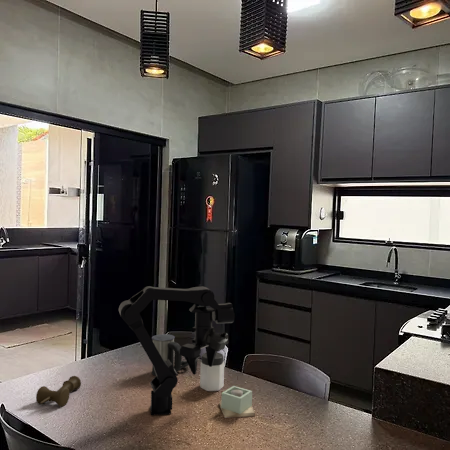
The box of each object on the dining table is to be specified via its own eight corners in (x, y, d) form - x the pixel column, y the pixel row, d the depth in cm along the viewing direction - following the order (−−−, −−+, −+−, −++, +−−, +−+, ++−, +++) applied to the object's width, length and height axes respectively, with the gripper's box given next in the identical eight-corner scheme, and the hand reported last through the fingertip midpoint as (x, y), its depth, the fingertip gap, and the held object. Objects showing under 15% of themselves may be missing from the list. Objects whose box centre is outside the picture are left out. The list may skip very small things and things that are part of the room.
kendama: (87, 391, 157) (53, 414, 137) (64, 389, 159) (27, 411, 140) (87, 375, 157) (53, 395, 138) (64, 372, 159) (27, 392, 140)
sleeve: (221, 407, 142) (221, 392, 142) (233, 400, 148) (233, 385, 148) (240, 413, 138) (240, 398, 138) (251, 405, 144) (252, 391, 144)
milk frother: (147, 375, 172) (147, 338, 172) (164, 362, 187) (165, 328, 187) (179, 380, 168) (180, 342, 168) (194, 367, 183) (195, 332, 183)
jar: (227, 388, 161) (228, 356, 161) (210, 393, 156) (211, 360, 156) (213, 380, 168) (213, 350, 168) (196, 385, 163) (196, 354, 163)
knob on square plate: (224, 417, 138) (225, 399, 137) (219, 404, 147) (219, 386, 147) (255, 415, 139) (255, 397, 139) (247, 402, 149) (247, 385, 149)
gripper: (206, 334, 133) (205, 384, 134) (238, 322, 149) (237, 367, 149) (178, 328, 139) (177, 376, 140) (212, 318, 155) (211, 361, 155)
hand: (202, 370), depth 146 cm, fingers open, 9 cm apart
